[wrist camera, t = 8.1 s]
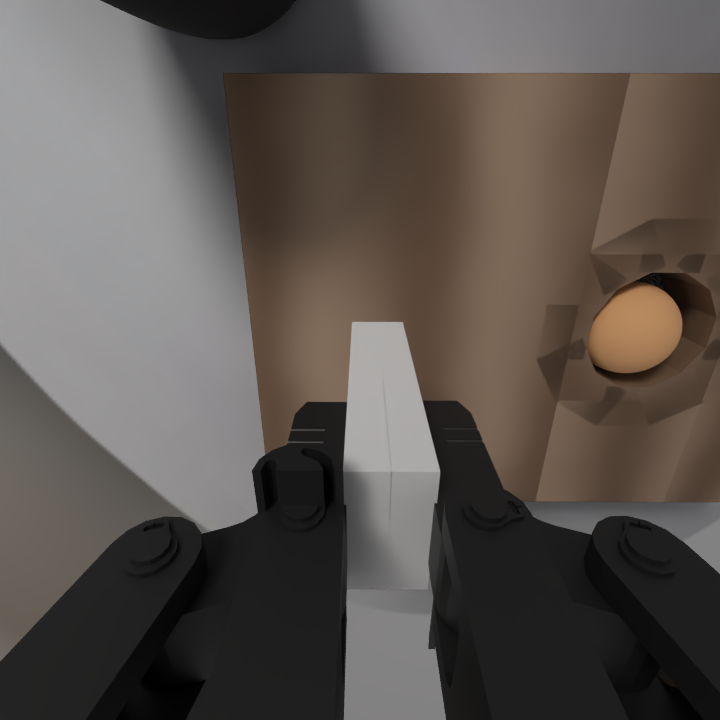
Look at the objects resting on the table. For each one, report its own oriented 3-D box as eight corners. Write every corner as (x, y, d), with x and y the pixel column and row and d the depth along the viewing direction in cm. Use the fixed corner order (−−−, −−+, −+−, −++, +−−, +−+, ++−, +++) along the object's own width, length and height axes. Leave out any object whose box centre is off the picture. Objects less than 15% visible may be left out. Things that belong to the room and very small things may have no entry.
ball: (564, 273, 19) (612, 301, 16) (652, 267, 19) (721, 293, 15) (552, 352, 21) (593, 393, 17) (633, 346, 21) (691, 387, 17)
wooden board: (281, 462, 24) (270, 500, 21) (246, 90, 16) (223, 73, 14) (686, 464, 24) (729, 502, 21) (834, 90, 16) (929, 73, 14)
